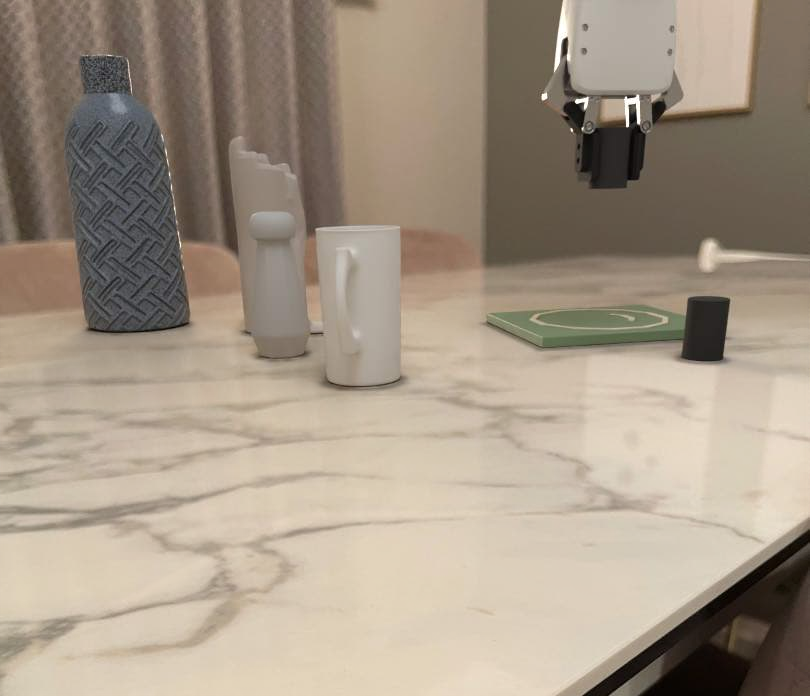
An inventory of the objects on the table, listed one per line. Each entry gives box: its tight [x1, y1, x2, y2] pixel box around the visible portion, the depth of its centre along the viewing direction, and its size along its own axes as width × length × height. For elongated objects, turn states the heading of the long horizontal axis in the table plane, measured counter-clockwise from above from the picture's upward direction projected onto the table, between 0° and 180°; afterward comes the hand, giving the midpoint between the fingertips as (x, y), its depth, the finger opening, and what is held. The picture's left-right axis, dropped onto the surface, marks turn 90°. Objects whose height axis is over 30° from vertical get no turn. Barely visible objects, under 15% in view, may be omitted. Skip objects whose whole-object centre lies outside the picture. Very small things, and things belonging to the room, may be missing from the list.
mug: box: [315, 225, 402, 387], centre depth 68 cm, size 10×7×12 cm, turn 169°
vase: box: [63, 54, 191, 333], centre depth 97 cm, size 12×12×28 cm
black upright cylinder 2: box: [681, 295, 731, 362], centre depth 76 cm, size 4×4×5 cm
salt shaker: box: [249, 211, 311, 359], centre depth 80 cm, size 6×6×13 cm
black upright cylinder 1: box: [587, 126, 631, 190], centre depth 80 cm, size 4×4×5 cm
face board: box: [486, 304, 686, 349], centre depth 93 cm, size 20×18×1 cm
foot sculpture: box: [228, 135, 323, 334], centre depth 93 cm, size 7×14×20 cm, turn 88°
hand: (607, 178), depth 80 cm, fingers closed on black upright cylinder 1, 3 cm apart
